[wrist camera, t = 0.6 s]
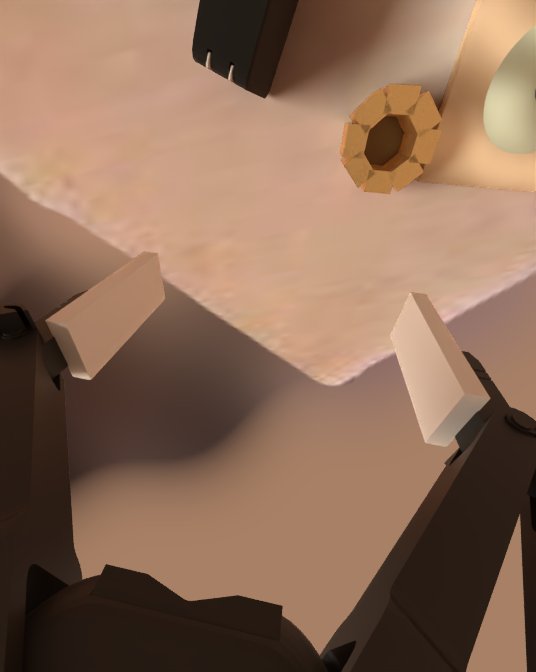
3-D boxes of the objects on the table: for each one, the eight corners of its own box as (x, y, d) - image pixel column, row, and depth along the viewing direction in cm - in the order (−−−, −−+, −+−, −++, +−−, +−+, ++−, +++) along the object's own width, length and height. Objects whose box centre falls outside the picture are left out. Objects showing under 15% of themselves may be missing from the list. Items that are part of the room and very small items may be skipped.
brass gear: (351, 88, 26) (356, 82, 22) (436, 93, 25) (457, 87, 21) (334, 180, 30) (336, 189, 26) (405, 187, 30) (418, 196, 26)
